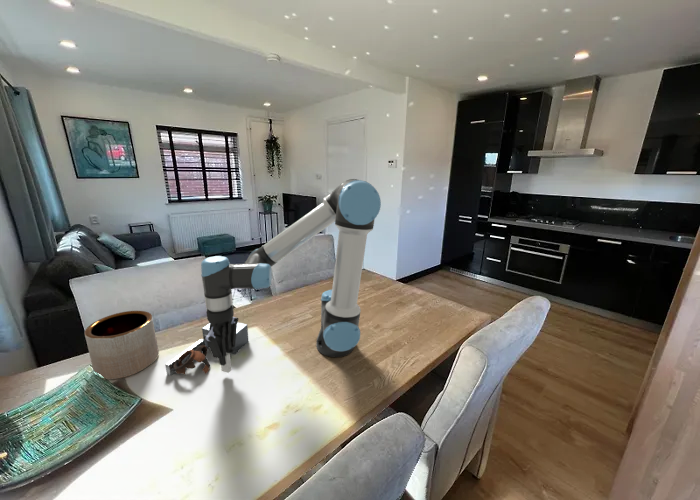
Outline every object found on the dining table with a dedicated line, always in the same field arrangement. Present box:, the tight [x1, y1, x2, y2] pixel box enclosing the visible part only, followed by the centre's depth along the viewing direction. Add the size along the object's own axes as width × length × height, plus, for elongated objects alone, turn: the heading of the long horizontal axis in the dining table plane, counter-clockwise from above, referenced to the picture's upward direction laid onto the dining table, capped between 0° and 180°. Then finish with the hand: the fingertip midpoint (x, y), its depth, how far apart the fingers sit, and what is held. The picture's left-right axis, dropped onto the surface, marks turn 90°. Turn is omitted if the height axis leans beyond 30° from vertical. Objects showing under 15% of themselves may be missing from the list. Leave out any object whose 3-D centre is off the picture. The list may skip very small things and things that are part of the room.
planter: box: [84, 310, 160, 380], centre depth 95 cm, size 18×18×16 cm
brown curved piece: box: [174, 345, 211, 375], centre depth 95 cm, size 12×10×8 cm
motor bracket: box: [165, 322, 250, 376], centre depth 100 cm, size 14×24×10 cm, turn 163°
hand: (226, 370), depth 92 cm, fingers closed
